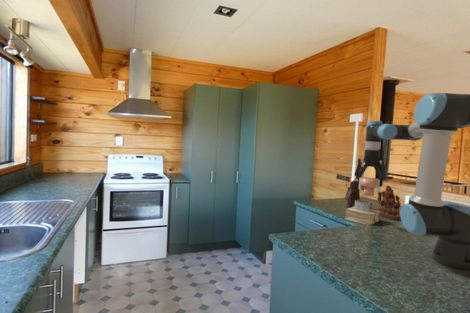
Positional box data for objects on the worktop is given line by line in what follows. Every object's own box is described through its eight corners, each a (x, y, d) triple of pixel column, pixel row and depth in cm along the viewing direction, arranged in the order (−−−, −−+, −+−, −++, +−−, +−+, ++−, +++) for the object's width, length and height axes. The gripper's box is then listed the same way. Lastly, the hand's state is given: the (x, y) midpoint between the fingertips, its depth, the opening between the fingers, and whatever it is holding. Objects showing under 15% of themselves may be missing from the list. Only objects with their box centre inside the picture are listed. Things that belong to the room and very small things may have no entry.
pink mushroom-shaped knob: (374, 197, 151) (375, 180, 150) (357, 194, 157) (358, 178, 156) (380, 195, 157) (381, 179, 156) (363, 192, 163) (365, 177, 162)
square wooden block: (369, 225, 158) (370, 214, 158) (345, 219, 168) (345, 209, 168) (379, 220, 168) (379, 210, 167) (355, 215, 178) (356, 205, 177)
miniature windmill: (332, 207, 197) (335, 164, 195) (335, 204, 207) (338, 163, 204) (372, 213, 185) (375, 167, 183) (373, 209, 195) (376, 165, 193)
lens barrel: (367, 212, 161) (367, 203, 161) (352, 209, 167) (353, 201, 167) (373, 210, 167) (373, 202, 167) (358, 207, 173) (359, 199, 173)
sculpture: (406, 220, 170) (409, 187, 169) (396, 221, 167) (399, 187, 166) (382, 213, 186) (385, 182, 184) (373, 214, 183) (375, 183, 181)
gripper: (396, 151, 150) (392, 193, 152) (355, 148, 165) (352, 186, 167) (391, 151, 144) (388, 195, 146) (349, 148, 160) (346, 187, 162)
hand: (369, 190), depth 157 cm, fingers closed on pink mushroom-shaped knob, 9 cm apart
